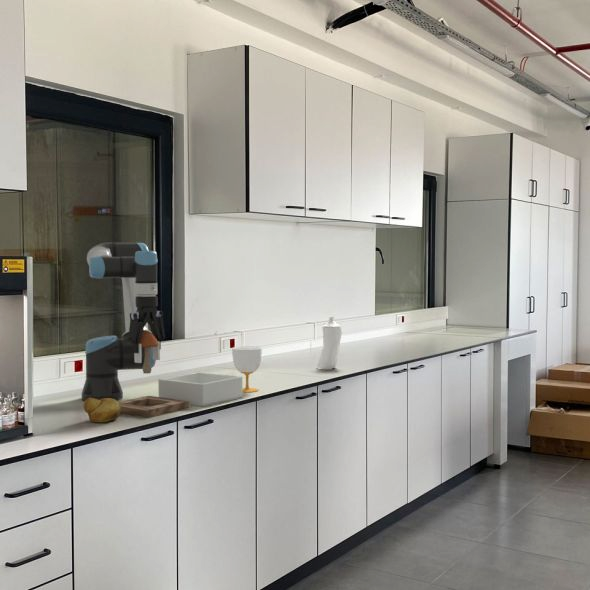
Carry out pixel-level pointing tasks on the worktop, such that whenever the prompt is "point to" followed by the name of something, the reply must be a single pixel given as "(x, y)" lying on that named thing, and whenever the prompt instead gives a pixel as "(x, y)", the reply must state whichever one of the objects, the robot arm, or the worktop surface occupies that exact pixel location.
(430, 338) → the worktop surface
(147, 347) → the mushroom
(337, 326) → the spray can
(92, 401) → the bread roll
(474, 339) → the worktop surface
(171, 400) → the board
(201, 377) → the bin
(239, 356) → the cup
